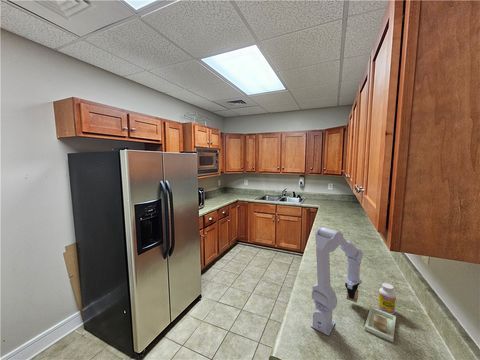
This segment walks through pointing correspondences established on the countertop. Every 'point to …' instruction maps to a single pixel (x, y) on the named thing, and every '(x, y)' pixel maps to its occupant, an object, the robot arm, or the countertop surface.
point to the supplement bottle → (387, 298)
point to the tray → (390, 324)
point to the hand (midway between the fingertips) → (352, 295)
